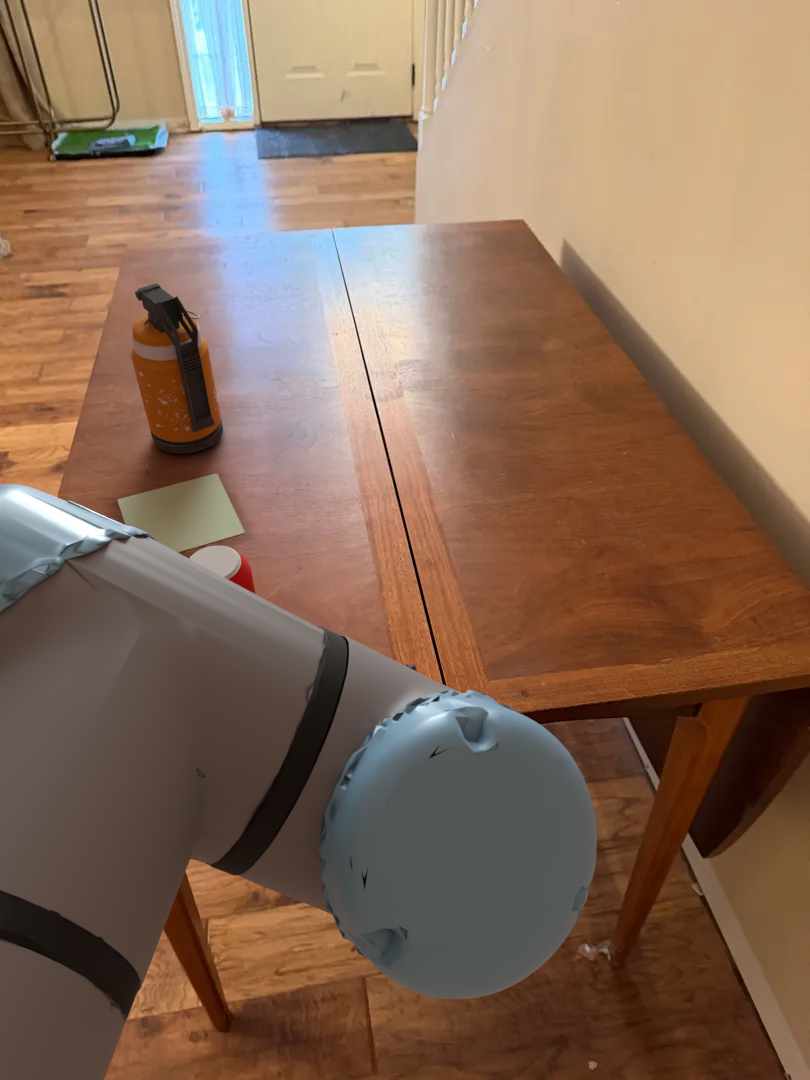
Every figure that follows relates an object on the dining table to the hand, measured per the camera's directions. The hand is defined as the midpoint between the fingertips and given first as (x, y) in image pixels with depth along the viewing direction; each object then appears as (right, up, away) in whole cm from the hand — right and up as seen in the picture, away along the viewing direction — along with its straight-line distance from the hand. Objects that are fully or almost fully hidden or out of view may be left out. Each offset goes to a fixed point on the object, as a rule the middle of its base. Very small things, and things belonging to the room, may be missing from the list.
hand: (270, 694), depth 56 cm
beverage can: (-7, 0, +19) cm, 20 cm away
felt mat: (-16, +14, +34) cm, 40 cm away
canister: (-18, +24, +44) cm, 54 cm away
